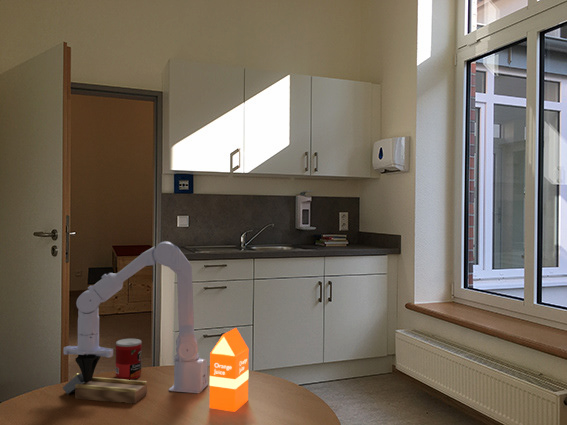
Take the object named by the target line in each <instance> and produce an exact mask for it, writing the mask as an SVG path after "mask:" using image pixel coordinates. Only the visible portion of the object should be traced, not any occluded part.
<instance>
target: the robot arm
mask: <svg viewBox="0 0 567 425" xmlns="http://www.w3.org/2000/svg"><path fill="white" fill-rule="evenodd" d="M157 263H158V264H159V265H162V266H165V267H167V268H169V269H170V270H171V271H173V272H174V273H175V274H176V279H177V280H176V282H177V312H178V313H177V316H178V317H177V318H178V335H177V338H176V340H175V345H176V346H175V347H176V348H175V354H176V355H174V359H173V360H174V363H173V364H174V365H173V369H174V371H173V377H174V378H173V380H174V381H173V385H172V386H171V387H169V389H168V391H169V392H178V393H188V394H189V393H190V394H201V392H202V391H203V390H204V389H205V388H206V387H207V386H208V385H209V383H208V378H209V377H208V370H209V367H208V360H207V359H205V358H202V357H200V354H199V346H198V340H197V336H196V335H195V322H194V319H195V318H194V294H193V291H194V290H193V286H194V285H193V267H192V264H191V262H190V261H189V260H188V259H187V257H186V255H185V254H184V253H183V251H181V248H179V247H178V246H177V245H176V244H174V243H172V242H171V241H166V240H165V241H161V242H159V243H158V244H157V245H156V246H153V247H151V248H149V249H147V250H145V251H144V252H141V253H140V255H138V256H137V257H136V258H135V259H133V260H131V261H130V262H129V263H128V264H127V265H126V266H124V267H123V268H122V269H121V270H119V271H118V272H116V273H113V272H108V273H104V274H103V275H102V276H101V279H100V280H98V281H97V282H96V283H95V284H93V285H89V286H88V287H87V290H85V291H84V292H82V293H81V294H80V295H79V296H78V298H76V303H75V305H76V308H77V309H78V312H77V313H78V314H77V315H78V317H77V345H67V346H64V347H63V351H62V352H63V355H65V356H67V355H76V356H77V357H75V362H76V364H77V365H78V366H79V369H80V373H82V376H83V379H84V382H89V381H91V380H92V377H94V372H95V370H96V367H97V365H98V363H99V361H100V359H101V357H106V358H108V359H109V358H112V357H113V356H114V348H109V347H108V348H107V347H103V346H100V315H99V311H100V309H99V307H100V305H101V303H105V302H106V301H108V300H109V299H110V298H112V297H113V296H115V295H116V294H118V292H119V291H121V290H122V289H123V286H124V282H125V281H127V280H128V279H129V278H131V277H132V276H133V275H135V274H136V273H138V272H139V271H140V270H142V269H143V268H145V267H147V266H148V267H149V266H155V265H156V264H157Z"/></svg>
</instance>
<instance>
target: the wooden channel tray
mask: <svg viewBox="0 0 567 425" xmlns="http://www.w3.org/2000/svg"><path fill="white" fill-rule="evenodd" d="M147 389H148V381H147V380H135V379H130V380H126V379H118V378H111V377H99V376H93V377H92V380H91V381H89V382H84V383H82V384H76V385H75V391H74V392H75V393H74V396H75V398H74V399H79V400H89V401H90V400H91V401H98V402H110V401H111V402H110V403H121V402H125V403H124V404H132V403H133V405H135V404H136V403H137V401H138V402H139V401H140V400H142V399H143V398H144V397H145V396H147V395H148V390H147ZM146 394H147V395H146ZM141 398H142V399H141Z"/></svg>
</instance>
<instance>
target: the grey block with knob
mask: <svg viewBox="0 0 567 425" xmlns="http://www.w3.org/2000/svg"><path fill="white" fill-rule="evenodd" d="M82 383H84V379H83V376H82V372H80V373H79V372H77V373H75V374H74V375H72V378H71V379H70V380H69V381H68V382H67V383H66V384H65V385H63V386H62V389H63V390H64V393H66V395H70V394H72V393H73V392H75V385H76V384H82Z"/></svg>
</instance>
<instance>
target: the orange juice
mask: <svg viewBox="0 0 567 425" xmlns="http://www.w3.org/2000/svg"><path fill="white" fill-rule="evenodd" d="M249 350H250V349H249V347H248V345H247V344H246V341H245V340H244V338H243V337H242V336H241V333H240V332H239V330H238V329H237V327H235V328H232V329H231V330H230V331H227V332H225V333H223V334H222V335H221V337H220V338H219V340H218V342H216V345H215V346H214V347H213V349H212V350H211V351H210V353H209V409H214V410H219V411H220V410H221V411H226V412H234V413H235V412H236V411H238V410H239V409H240V408H242V406H244V405H245V404H246V403H247V401H249V374H250V373H249V372H250V371H249Z"/></svg>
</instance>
